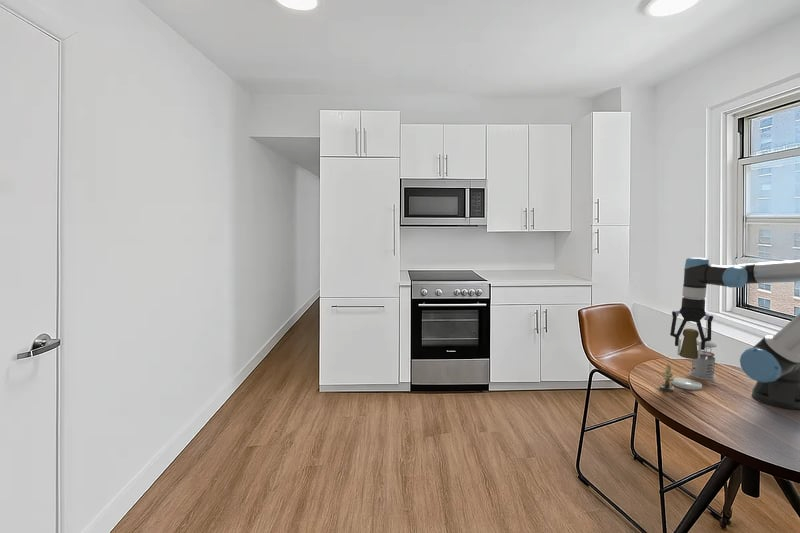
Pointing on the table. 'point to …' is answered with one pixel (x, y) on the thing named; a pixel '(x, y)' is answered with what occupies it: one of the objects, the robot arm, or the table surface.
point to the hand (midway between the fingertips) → (688, 355)
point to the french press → (704, 362)
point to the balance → (667, 379)
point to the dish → (687, 384)
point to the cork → (689, 344)
